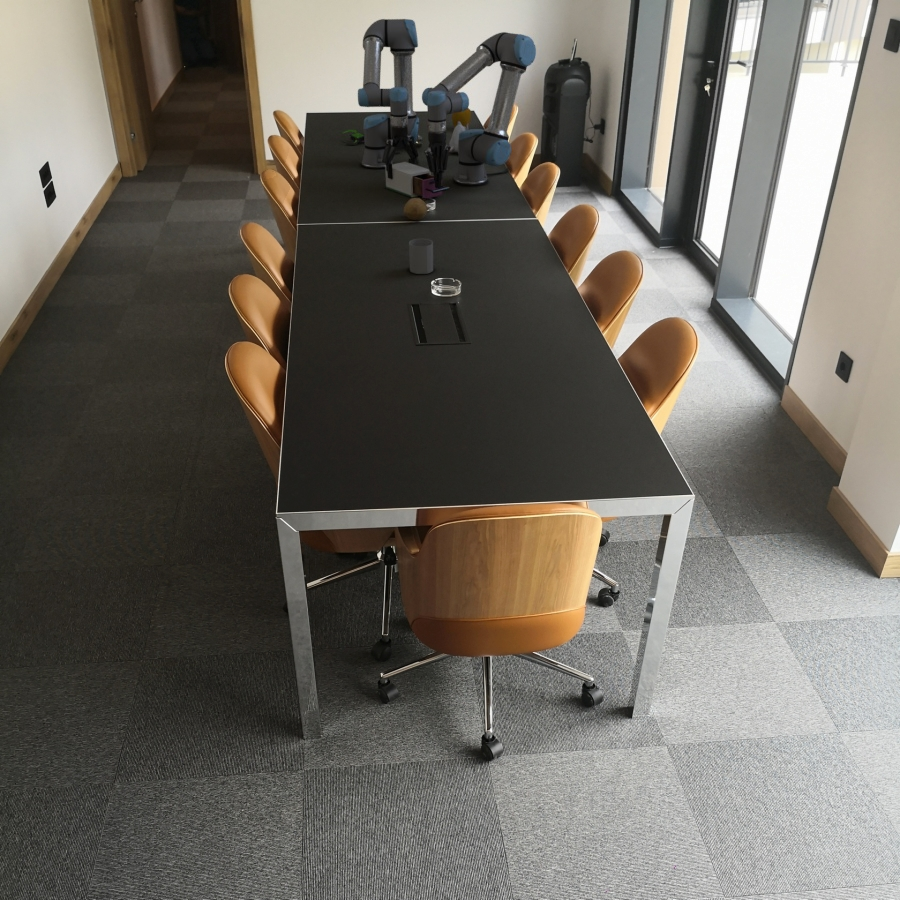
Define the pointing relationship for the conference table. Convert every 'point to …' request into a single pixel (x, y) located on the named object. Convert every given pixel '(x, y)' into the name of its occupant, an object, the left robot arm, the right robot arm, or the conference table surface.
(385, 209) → the conference table surface
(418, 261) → the cup
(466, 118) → the apple
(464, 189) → the conference table surface
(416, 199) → the potato
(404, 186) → the cabinet
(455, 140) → the toy
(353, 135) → the green irregular shape
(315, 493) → the conference table surface
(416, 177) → the drawer
